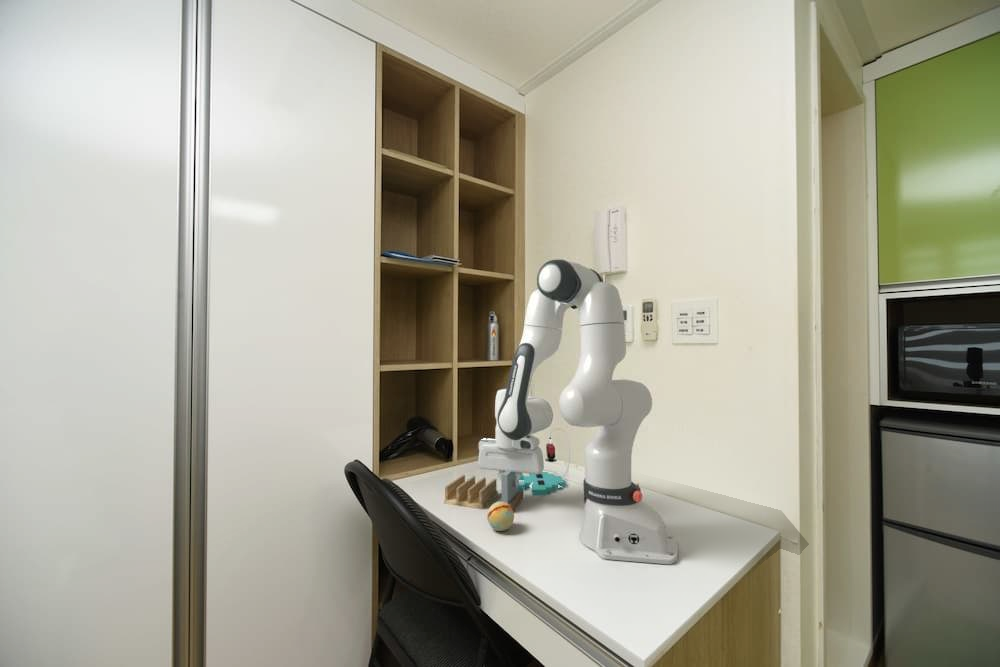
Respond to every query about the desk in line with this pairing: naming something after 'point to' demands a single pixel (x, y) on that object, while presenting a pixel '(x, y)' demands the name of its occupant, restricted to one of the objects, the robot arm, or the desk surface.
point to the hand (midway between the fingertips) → (510, 485)
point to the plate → (508, 486)
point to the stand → (515, 499)
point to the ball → (500, 516)
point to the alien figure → (541, 483)
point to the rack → (470, 492)
